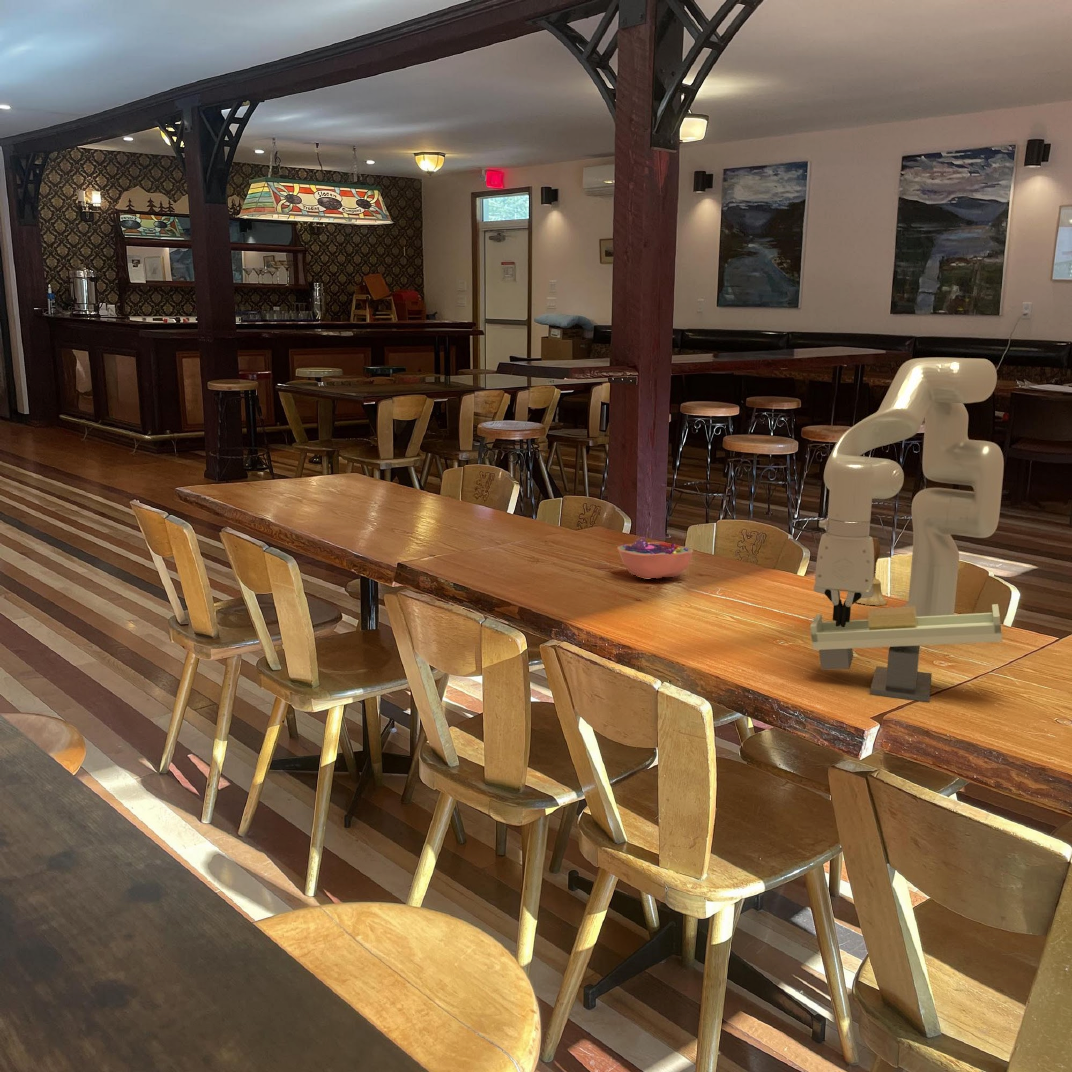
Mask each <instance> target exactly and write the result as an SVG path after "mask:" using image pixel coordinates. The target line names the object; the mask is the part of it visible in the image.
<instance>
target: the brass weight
mask: <svg viewBox="0 0 1072 1072" xmlns="http://www.w3.org/2000/svg"><path fill="white" fill-rule="evenodd" d="M867 619H868V623H869V630H881V629H901V628H918V626H917V617H916V608H915V606H910V607H901V606H897V607H883V608H882V607H880V608H879V607H877V608H869V611H868V613H867Z"/></svg>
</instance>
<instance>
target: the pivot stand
mask: <svg viewBox="0 0 1072 1072" xmlns="http://www.w3.org/2000/svg"><path fill="white" fill-rule="evenodd" d="M920 650H921V645H917V646H894V647H888V656H887V667H885V666H875V670H874V675H873V678H872V682H871V684H870V685H871V686H870V689H869V690H870V692H869V695H873V696H881V697H889V698H895V699H903V700H908V701H909V700H910V701H917V702H924V703H925V702H926V703H930V698H931V697H930V696H931V688H932V687H931V686H932V676H933V675H932V674H933V673H931V672H923V671H919V661H920Z"/></svg>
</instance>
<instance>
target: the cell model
mask: <svg viewBox="0 0 1072 1072" xmlns="http://www.w3.org/2000/svg"><path fill="white" fill-rule="evenodd" d="M616 549H617V550H618V552H619V555H620V558H621V561H622V563H623V564H624V566H625V567H626V569H627V571H628V573H629V574H630V573H631V574H630V575H632V574H633V575H637V576H640V577H644V578H656V579H663V578H662V577H673V578H675V577H674V576H676V577H677V576H679V575H680V574H682V573H684V571H686V570H687V568H688V567H689V565H690V562H691V559H692V554H693V552H694V549H693V548H690V547H687V546H684V545H683V546H682V545H678V544H675V543H672V542H671V543H669V542H661V541H660V542H659V541H658V542H657V541H649V542H647V541H646V537H645V536H640V537H638V538H637V539H635V540H634V542H633V543H627V544H622V545H618V546H617V548H616ZM633 575H632V576H633Z"/></svg>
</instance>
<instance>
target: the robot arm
mask: <svg viewBox="0 0 1072 1072" xmlns="http://www.w3.org/2000/svg"><path fill="white" fill-rule="evenodd" d="M997 379H998V375H997V369H996V367H995V365H994V364H993V362H991V361H990V360H988V359H986V358H975V357H974V358H971V357H969V358H968V357H967V358H965V357H937V356H936V357H919V358H912V359H909V360H906V361H905V362H903V364H901V366H900V367H899V368H898V370H897V372H896V374H895V376H894V378H893V380H892V382H891V384H890V385H889V388H888V390H887V392H886V395H885V396H884V398H883V400H882V402H881V404H880V406H879V407H878V410H877V411H876V412H874V413H873V414H870V415H869V416H867V417H865V418H863V419H861V421H860V420H859V422H857V423H856V424H854V425H853V426H852V427H850V428H849V429H847V430H846V431H845V432H844V433H842V435H841V436H840V437H839V438H838V440H837V441H836V443H835V445H834V446H833V448H832V451H831V453H830V455H829V457H828V458H827V461H826V464H825V466H824V467H825V468H824V472H823V482H824V485H825V486H826V488H827V489H828V490H829V496H828V506H827V507H828V509H827V511H828V512H827V518H825V519H820V520H819V521H818V527H819V528H823V529H824V530H825V532H824V533H822V534H821V537H820V542H819V545H818V550H817V557H816V566H815V575H814V587H813V591H814V592H816V593H818V594H821V595H825V596H826V597H827V598H828V599H829V601H830V602H831V604H832V605H833V609H832V621H836V626H837V627H839V626H840V624H841V626H842V627H845V625H846V622H850V620H851V611H852V605H854V604H855V603H856V601H858V600H859V599H860V598H870V597H873V595H874V591H873V586H872V584H873V579H874V544H873V538H874V537H872V536H870V527H871V517H872V515H871V514H872V504H873V499H877V500H887V499H890V498H893V497H895V496H896V495H897V494H898V493H899V492H900V491H901V489H902V487H903V485H904V478H905V473H904V470H903V469H902V467H901V465H900V464H899V463H898V462H897V461H894V460H891V459H889V458H881V457H880V458H879V457H871V456H862V455H863V454H865V453H867V452H868V451H871V450H873V449H876V448H880V447H883V446H887V445H890V444H895V443H898V442H900V441H902V442H903V441H905V440H906V439H909V438H912V437H914V436H915V435H917V433H918V432H919V430H920V429H921V427H922V425H923V422H924V432H923V433H924V435H923V447H922V448H923V449H922V472H923V475H924V477H925V478H926V479H927V480H930V481H933V482H938V483H945V484H954V485H960V486H961V485H963V486H971V487H972V488H973V491H969V490H960V489H956V488H954V489H953V488H944V487H927V488H924V489H922V490H919V491H918V492H917V493H916V494H915V496H914V497H913V499H912V501H911V508H910V509H911V519H912V520H911V521H912V531H913V532H912V533H913V535H912V537H913V540H912V555H911V564H910V565H911V566H910V567H911V568H910V577H909V590H908V591H909V592H908V602H907V603H906V604H904V605H901V606H900V607H910V606H915V608H916V617H921V616H939V615H955V605H956V594H957V585H958V584H957V583H958V575H959V562H960V551H959V549H958V546H957V544H956V542H955V540H954V538H953V536H952V535H955V536H964V537H972V538H979V539H982V538H983V539H985V538H989V537H991V536H992V535H993V534H994V533H995V532H996V530H997V528H998V524H999V520H1000V512H1001V502H1002V501H1001V500H1002V490H1003V481H1004V480H1003V479H1004V468H1005V467H1004V466H1005V464H1004V454H1003V452H1002V450H1001V447H1000V446H999V445H998V444H997V443H995V442H992V441H987V440H978V439H977V440H975V439H969V436H968V429H969V413H968V411H967V408H966V407H965V404H973V403H981V402H984V401H986V400H987V399H989V397H991V396H992V395H993V392H994V390H995V389H996V385H997ZM840 592H847V593H846V597H845V600H844V601H843V602H842V599H841V593H840Z"/></svg>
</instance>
